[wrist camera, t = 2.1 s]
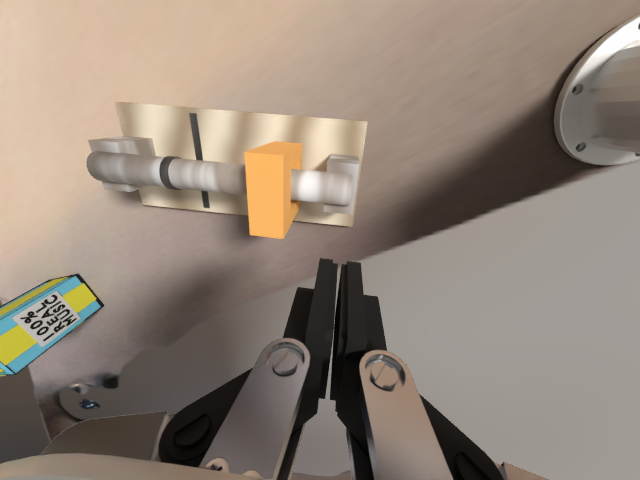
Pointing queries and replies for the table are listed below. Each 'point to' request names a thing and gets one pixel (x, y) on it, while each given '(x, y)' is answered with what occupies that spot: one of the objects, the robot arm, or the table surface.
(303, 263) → the table surface
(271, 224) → the collar
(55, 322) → the carton
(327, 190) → the pipe rig
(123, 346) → the table surface
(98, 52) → the table surface
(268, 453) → the robot arm
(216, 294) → the table surface
